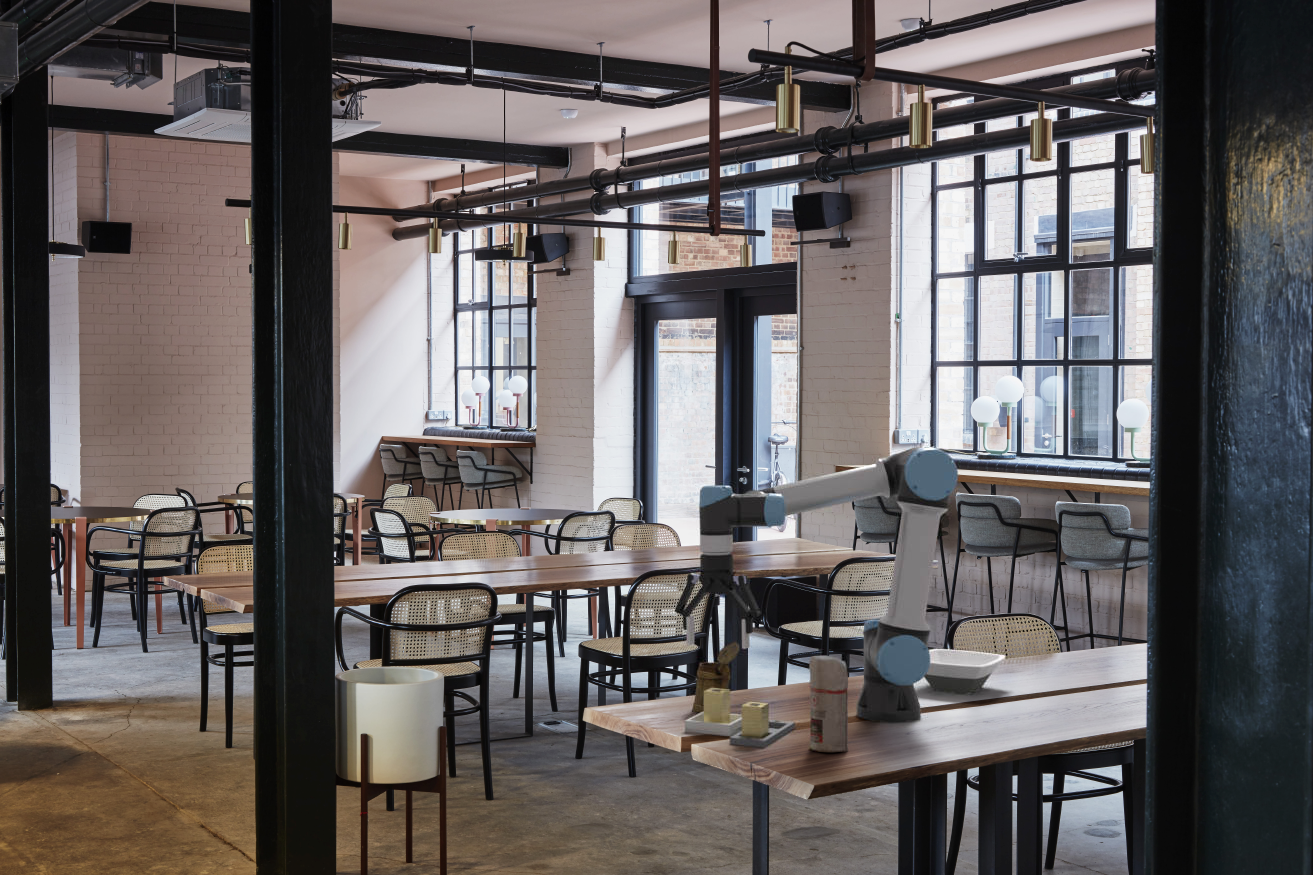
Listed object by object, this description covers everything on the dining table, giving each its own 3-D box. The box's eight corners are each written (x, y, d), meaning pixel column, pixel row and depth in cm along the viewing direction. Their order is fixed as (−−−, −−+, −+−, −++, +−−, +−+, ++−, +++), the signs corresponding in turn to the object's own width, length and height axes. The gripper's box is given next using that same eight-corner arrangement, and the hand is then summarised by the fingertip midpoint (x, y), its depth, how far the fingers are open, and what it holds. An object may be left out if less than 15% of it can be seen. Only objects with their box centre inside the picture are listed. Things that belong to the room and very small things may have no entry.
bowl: (1011, 686, 342) (1011, 654, 342) (984, 701, 322) (984, 667, 322) (932, 677, 353) (932, 647, 353) (901, 691, 334) (901, 659, 334)
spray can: (805, 745, 276) (805, 652, 276) (842, 744, 276) (842, 652, 276) (813, 754, 267) (813, 659, 267) (852, 754, 268) (852, 658, 268)
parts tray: (747, 726, 294) (747, 715, 294) (730, 736, 284) (730, 724, 284) (704, 721, 299) (703, 710, 299) (685, 731, 289) (685, 720, 289)
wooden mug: (719, 718, 302) (719, 642, 302) (685, 709, 313) (685, 635, 313) (748, 714, 307) (748, 639, 307) (713, 704, 318) (713, 632, 318)
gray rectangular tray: (794, 728, 292) (794, 721, 292) (764, 747, 274) (764, 740, 274) (761, 724, 295) (761, 718, 295) (729, 743, 277) (729, 736, 277)
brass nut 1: (730, 724, 292) (729, 688, 292) (722, 728, 288) (722, 692, 288) (711, 722, 294) (711, 687, 294) (703, 726, 290) (703, 690, 290)
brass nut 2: (768, 739, 281) (768, 702, 281) (761, 744, 277) (761, 706, 277) (749, 737, 283) (749, 701, 283) (741, 742, 279) (741, 705, 279)
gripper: (773, 552, 290) (775, 646, 290) (673, 550, 300) (674, 640, 300) (762, 555, 283) (763, 651, 283) (660, 553, 293) (661, 645, 293)
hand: (717, 646), depth 291 cm, fingers open, 13 cm apart
